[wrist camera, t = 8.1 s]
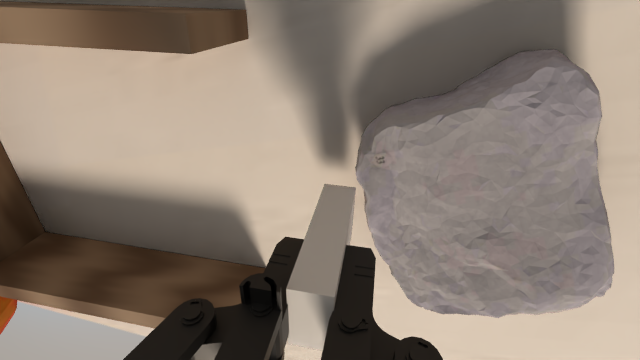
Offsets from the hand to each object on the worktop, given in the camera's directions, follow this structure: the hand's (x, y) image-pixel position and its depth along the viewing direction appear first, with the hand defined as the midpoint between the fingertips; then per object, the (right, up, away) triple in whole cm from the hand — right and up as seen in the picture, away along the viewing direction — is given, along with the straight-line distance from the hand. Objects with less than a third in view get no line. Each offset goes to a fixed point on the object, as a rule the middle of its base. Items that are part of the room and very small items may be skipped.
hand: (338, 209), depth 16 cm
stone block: (+7, +1, +1) cm, 7 cm away
